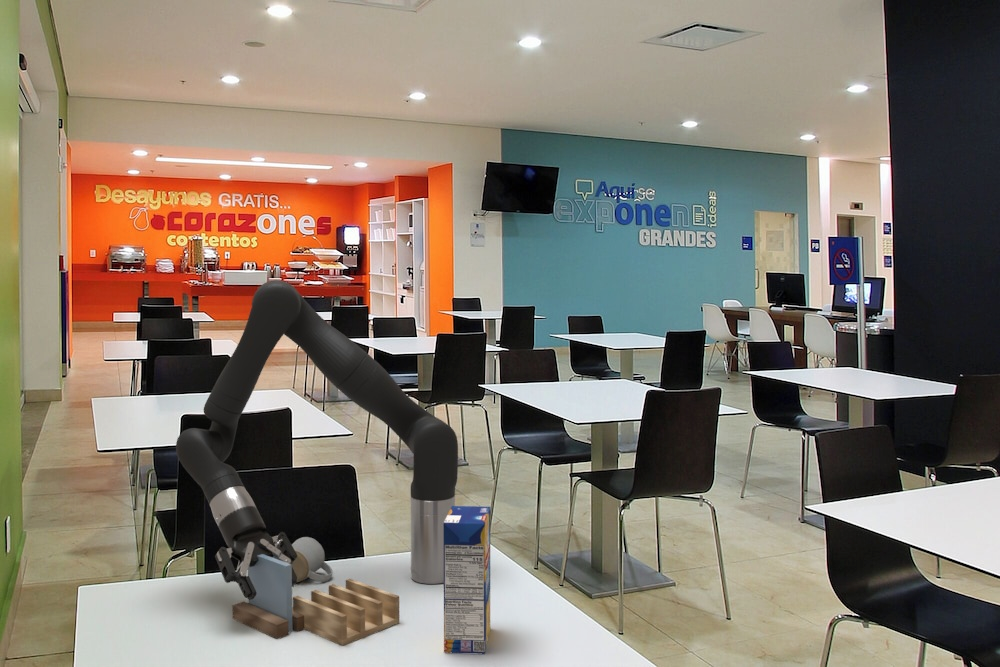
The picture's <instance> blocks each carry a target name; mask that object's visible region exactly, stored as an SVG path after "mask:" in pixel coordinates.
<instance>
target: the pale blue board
mask: <svg viewBox="0 0 1000 667" xmlns="http://www.w3.org/2000/svg"><path fill="white" fill-rule="evenodd" d="M257 557H258V559H259V560H258V561H257V563H256V564H255V566H253V567H250V566H248V570H247V576H249V578H250V580H251V582H252V584H253V586H254V588H255V590H256V593H257V594H256V596H255V597H254V599H252V600H248V599H247V601H248V602H247V603H249V604H251V605H253V606H256V607H258V608H260V609H263V610H265V611H267V612H269V613H272V614H274V615H276V616H279V617H281V618H283V619H286V620H288V621H289V633H291V632H293V631H294V630H293V623H292V607H293V587H292V564H289V563H286V562H283V561H280V560H278V559H275V558H272V557H273V556H270V557H269V556H267V555H264V554H261V555H258V556H257Z"/></svg>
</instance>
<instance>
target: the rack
mask: <svg viewBox="0 0 1000 667" xmlns="http://www.w3.org/2000/svg"><path fill="white" fill-rule="evenodd" d="M310 596H311V597H310V598H311V599H307V598H305V597H302V596H299V595H296V596H292V607H293V611H295V612H297V613H300V614H302V615H304V629H303V630H305V631H308V632H310V633H312V634H315V635H317V636H319V637H321V638H324V639H326V640H329V641H330V642H333V643H335V644H338V645H340V646H342V647H343V646H345V645H348V644H350V643H354V642H356V641H359V640H361V639H363V638H365V637H368V636H370V634H371V635H373V634H375V632H376V633H377V631H378V632H381V631H383V630H385V629H384V628H386V627H388V628H390V627H389V626H391V625H393V626H395V625H394V624H396V625H398V624H400V595H397V594H394V593H392V592H389V591H386V590H384V589H380V588H378V587H375V586H372V585H370V584H367V583H363V582H361V581H358V580H355V579H352V578H347V579H345V587H342V586H339V585H336V584H334V583H332V584H329V585H328V593H325V592H322V591H320V590H317V589H314V590H311V591H310ZM397 623H398V624H397ZM391 627H392V626H391ZM382 629H383V630H382ZM386 629H387V628H386ZM380 630H381V631H380ZM372 633H373V634H372Z"/></svg>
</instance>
